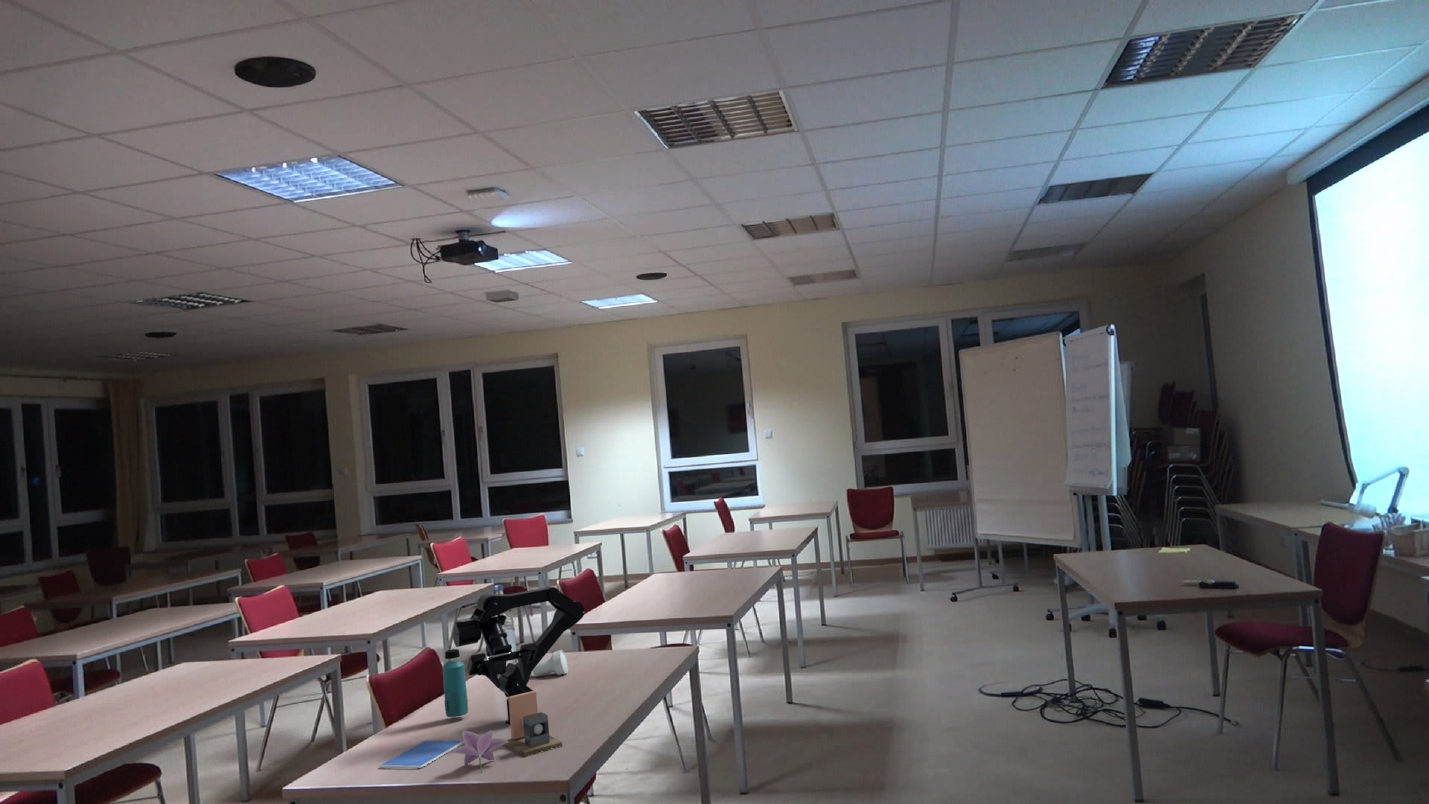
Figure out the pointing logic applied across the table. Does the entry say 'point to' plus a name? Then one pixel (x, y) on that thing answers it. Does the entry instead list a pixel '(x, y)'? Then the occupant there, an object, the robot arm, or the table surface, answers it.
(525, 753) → the tan board
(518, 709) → the salmon pink upright block
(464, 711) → the beverage bottle
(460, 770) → the table surface
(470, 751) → the lily
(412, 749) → the tablet computer
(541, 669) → the spotlight
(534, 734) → the charcoal metal brick
